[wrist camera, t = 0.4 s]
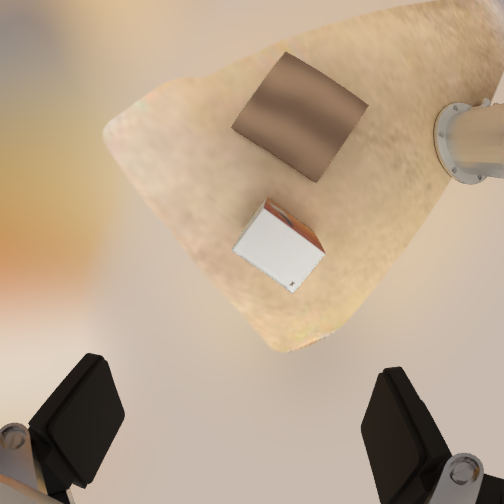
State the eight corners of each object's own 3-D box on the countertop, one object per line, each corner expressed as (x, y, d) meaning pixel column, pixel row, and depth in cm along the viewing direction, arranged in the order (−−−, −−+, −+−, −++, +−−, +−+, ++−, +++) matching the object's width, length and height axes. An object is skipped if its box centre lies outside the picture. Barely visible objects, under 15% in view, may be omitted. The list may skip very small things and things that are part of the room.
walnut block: (284, 62, 33) (285, 51, 29) (359, 111, 34) (368, 105, 30) (235, 131, 36) (231, 127, 32) (312, 181, 37) (316, 182, 33)
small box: (314, 232, 39) (328, 254, 28) (289, 263, 40) (294, 296, 30) (266, 195, 38) (263, 205, 28) (241, 229, 39) (230, 251, 29)
